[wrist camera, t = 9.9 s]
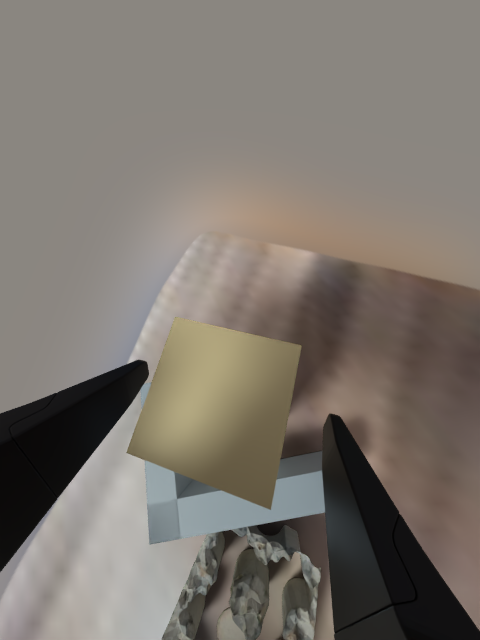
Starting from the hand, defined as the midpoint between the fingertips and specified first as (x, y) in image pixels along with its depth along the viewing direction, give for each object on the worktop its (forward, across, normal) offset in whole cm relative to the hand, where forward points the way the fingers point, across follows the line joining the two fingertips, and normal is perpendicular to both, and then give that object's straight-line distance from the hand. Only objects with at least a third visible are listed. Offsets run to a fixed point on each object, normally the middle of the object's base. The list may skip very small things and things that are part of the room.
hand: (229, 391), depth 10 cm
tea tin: (+6, 0, +6) cm, 9 cm away
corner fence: (+4, 0, +8) cm, 9 cm away
